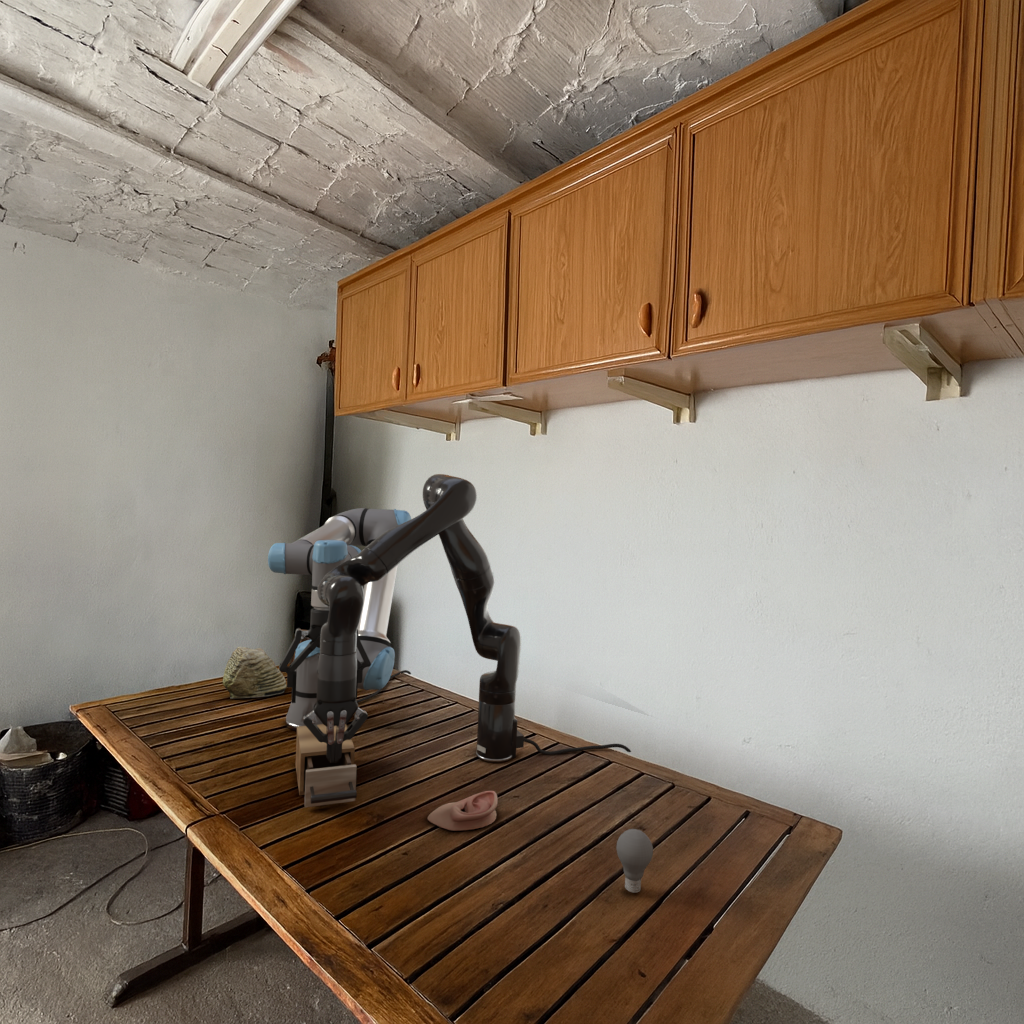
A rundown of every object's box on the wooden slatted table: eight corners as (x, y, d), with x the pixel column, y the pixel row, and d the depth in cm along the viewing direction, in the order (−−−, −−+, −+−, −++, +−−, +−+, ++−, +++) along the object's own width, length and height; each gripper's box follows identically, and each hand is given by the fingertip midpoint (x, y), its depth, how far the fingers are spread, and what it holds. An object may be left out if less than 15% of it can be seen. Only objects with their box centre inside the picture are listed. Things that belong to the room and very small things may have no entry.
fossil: (218, 695, 195) (220, 647, 195) (278, 685, 208) (279, 640, 207) (228, 703, 189) (230, 653, 188) (289, 692, 201) (290, 645, 201)
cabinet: (353, 788, 138) (354, 747, 138) (299, 795, 134) (300, 753, 134) (344, 759, 153) (345, 722, 153) (295, 764, 149) (296, 726, 149)
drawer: (359, 814, 125) (360, 778, 125) (306, 821, 122) (308, 784, 122) (346, 770, 145) (347, 739, 145) (300, 775, 141) (301, 743, 141)
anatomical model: (422, 806, 123) (441, 781, 134) (422, 826, 123) (440, 799, 134) (489, 816, 120) (502, 789, 132) (488, 836, 121) (501, 808, 132)
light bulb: (610, 879, 108) (613, 822, 108) (644, 879, 109) (647, 822, 109) (619, 902, 102) (622, 840, 102) (655, 901, 103) (658, 840, 103)
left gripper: (270, 611, 138) (266, 708, 138) (385, 609, 147) (381, 699, 147) (269, 605, 145) (266, 698, 145) (379, 603, 154) (376, 690, 154)
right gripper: (303, 681, 119) (299, 772, 120) (374, 677, 124) (370, 764, 125) (300, 671, 126) (297, 757, 127) (368, 667, 131) (364, 750, 132)
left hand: (324, 699), depth 146 cm, fingers open, 13 cm apart
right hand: (333, 760), depth 126 cm, fingers closed
